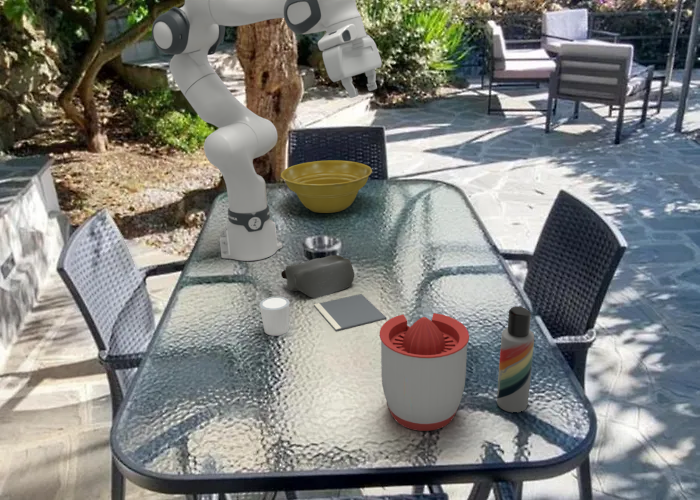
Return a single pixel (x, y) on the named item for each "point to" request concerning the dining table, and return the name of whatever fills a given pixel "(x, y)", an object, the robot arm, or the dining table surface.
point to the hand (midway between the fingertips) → (364, 93)
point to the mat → (349, 312)
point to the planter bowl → (326, 183)
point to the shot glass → (275, 315)
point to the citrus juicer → (423, 370)
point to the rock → (320, 276)
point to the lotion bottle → (515, 361)
